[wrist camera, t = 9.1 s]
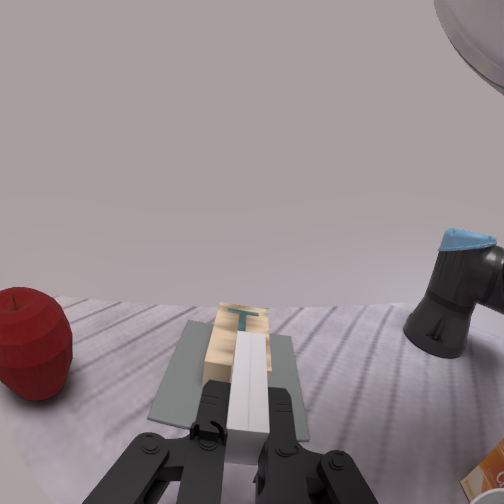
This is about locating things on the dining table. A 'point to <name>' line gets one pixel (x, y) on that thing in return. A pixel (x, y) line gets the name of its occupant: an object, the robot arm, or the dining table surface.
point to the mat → (191, 376)
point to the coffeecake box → (486, 474)
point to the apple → (33, 343)
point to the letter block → (233, 339)
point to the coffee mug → (490, 497)
